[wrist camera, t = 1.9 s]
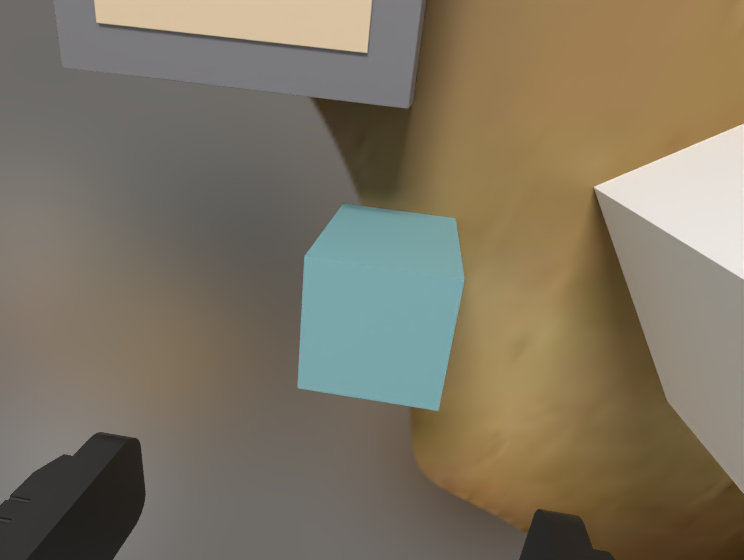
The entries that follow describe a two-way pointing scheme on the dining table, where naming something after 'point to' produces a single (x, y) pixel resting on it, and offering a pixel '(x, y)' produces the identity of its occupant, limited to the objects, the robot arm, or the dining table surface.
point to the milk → (690, 281)
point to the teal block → (381, 306)
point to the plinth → (253, 44)
